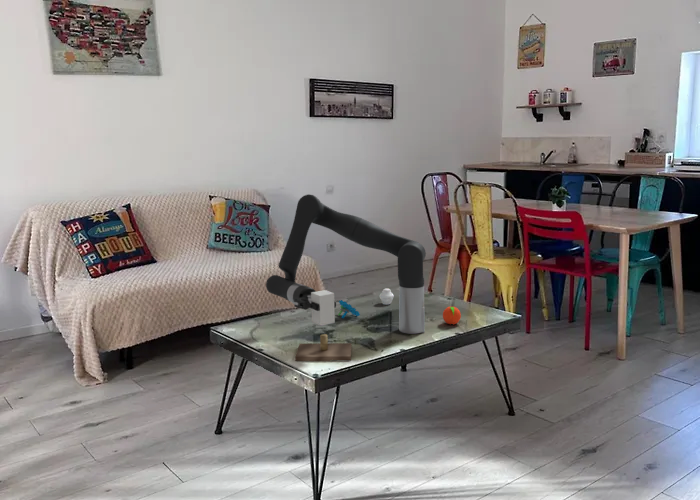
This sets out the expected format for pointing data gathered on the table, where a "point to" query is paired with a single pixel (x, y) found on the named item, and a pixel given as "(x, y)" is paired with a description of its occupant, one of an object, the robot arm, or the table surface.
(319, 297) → the block
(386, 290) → the white vase
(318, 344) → the base plate
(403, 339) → the table surface
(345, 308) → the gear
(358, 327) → the table surface
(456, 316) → the clementine
